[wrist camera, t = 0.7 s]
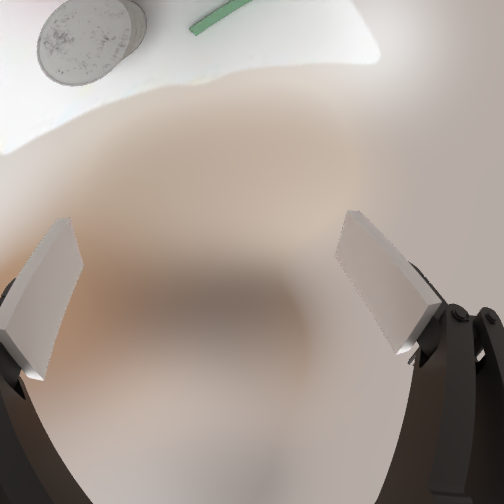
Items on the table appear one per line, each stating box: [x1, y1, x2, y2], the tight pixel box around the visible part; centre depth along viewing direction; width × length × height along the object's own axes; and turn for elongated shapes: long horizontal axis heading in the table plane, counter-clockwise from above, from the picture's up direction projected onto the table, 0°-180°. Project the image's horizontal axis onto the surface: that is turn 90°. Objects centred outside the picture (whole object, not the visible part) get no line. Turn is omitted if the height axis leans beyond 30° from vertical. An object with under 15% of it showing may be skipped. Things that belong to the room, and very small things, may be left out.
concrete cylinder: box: [37, 0, 147, 86], centre depth 18 cm, size 10×10×12 cm
